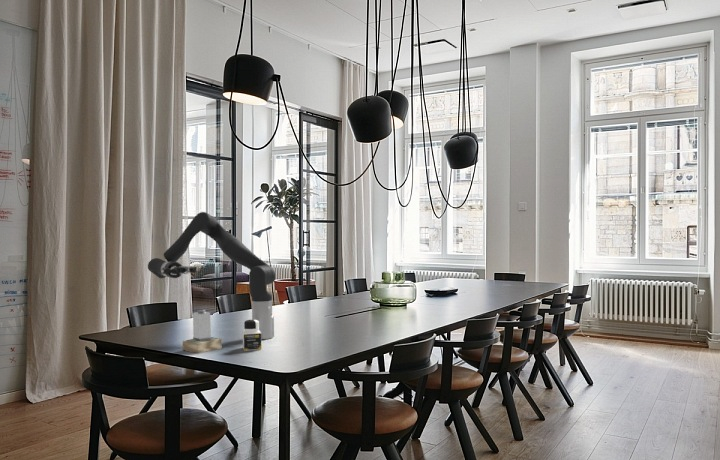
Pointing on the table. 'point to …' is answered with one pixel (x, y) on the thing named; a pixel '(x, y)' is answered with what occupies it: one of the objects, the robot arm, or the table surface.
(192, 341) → the stand
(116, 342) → the table surface
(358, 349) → the table surface
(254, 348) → the medicine bottle
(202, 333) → the housing
